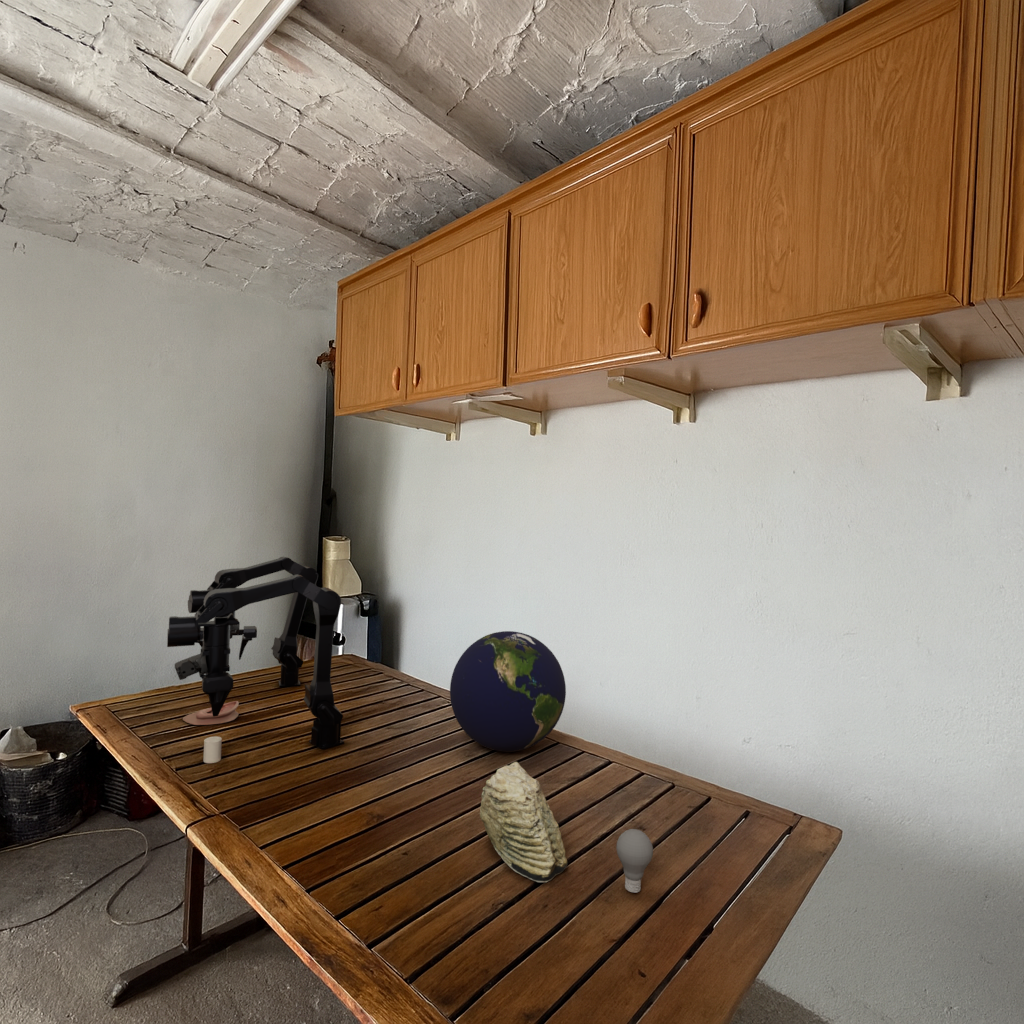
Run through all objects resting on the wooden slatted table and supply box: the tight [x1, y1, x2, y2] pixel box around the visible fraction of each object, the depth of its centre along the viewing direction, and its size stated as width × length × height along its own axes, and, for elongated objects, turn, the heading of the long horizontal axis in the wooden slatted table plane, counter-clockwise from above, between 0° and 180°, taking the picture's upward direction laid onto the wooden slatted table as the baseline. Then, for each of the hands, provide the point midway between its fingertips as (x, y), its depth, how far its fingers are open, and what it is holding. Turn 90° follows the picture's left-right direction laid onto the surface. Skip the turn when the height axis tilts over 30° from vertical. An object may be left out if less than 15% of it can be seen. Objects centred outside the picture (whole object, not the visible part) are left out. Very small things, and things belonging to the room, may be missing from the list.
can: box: [202, 735, 223, 764], centre depth 149 cm, size 4×4×5 cm
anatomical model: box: [182, 700, 240, 726], centre depth 176 cm, size 13×4×12 cm
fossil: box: [479, 761, 569, 883], centre depth 114 cm, size 9×18×15 cm, turn 46°
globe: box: [449, 630, 567, 753], centre depth 164 cm, size 30×30×30 cm
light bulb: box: [615, 828, 654, 894], centre depth 106 cm, size 6×6×10 cm
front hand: (213, 709), depth 149 cm, fingers open, 9 cm apart
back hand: (223, 660), depth 197 cm, fingers open, 9 cm apart
